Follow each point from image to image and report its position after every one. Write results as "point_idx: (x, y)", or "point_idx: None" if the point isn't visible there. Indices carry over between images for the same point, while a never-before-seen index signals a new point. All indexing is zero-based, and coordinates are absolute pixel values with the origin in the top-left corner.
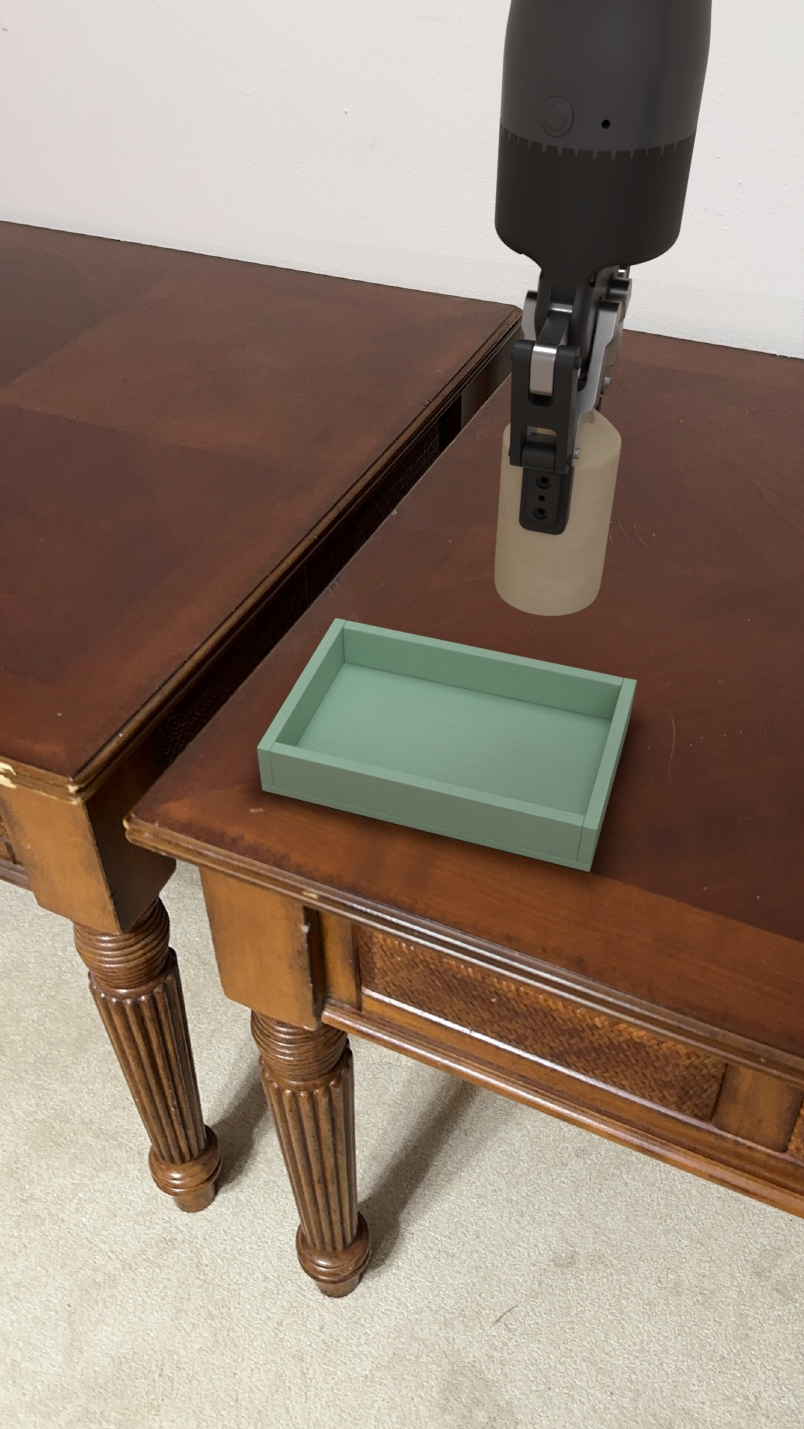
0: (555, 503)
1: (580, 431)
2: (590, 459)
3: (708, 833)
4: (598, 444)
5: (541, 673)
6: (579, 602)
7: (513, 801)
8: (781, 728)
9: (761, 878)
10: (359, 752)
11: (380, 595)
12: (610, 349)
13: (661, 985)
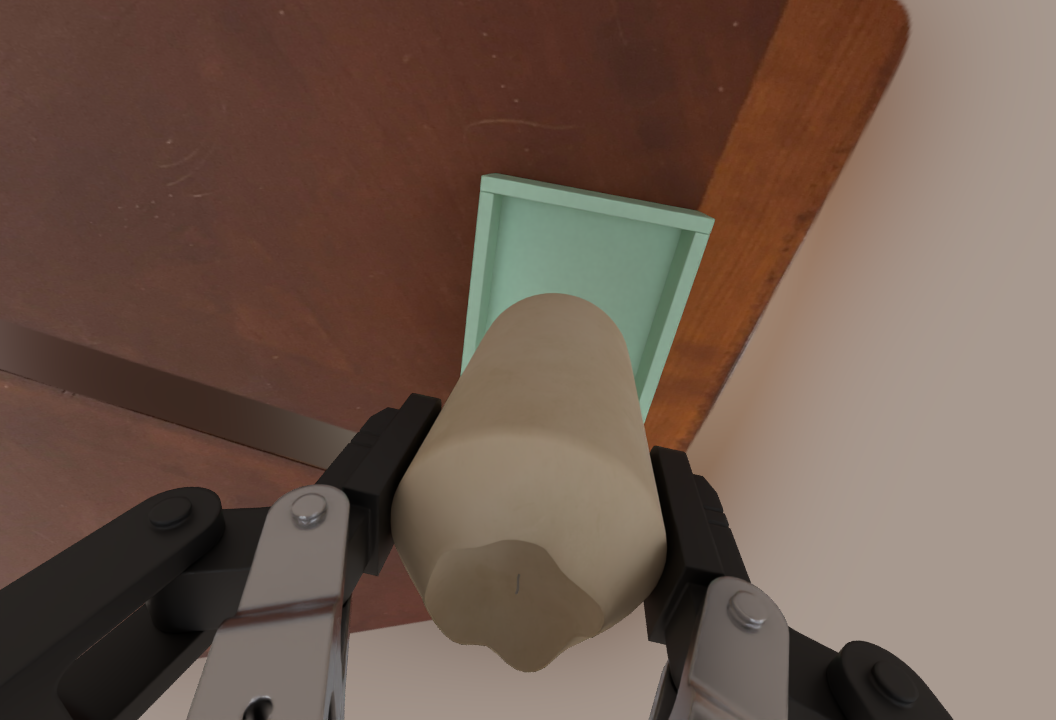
0: (729, 529)
1: (725, 654)
2: (644, 514)
3: (645, 82)
4: (606, 514)
5: (484, 279)
6: (616, 327)
7: (676, 301)
8: None
9: (709, 17)
10: None
11: (373, 407)
12: (328, 697)
13: (838, 139)
